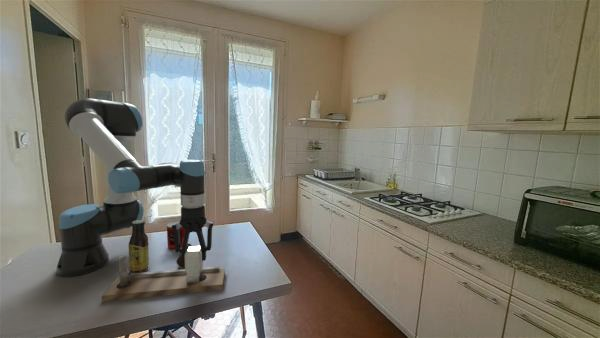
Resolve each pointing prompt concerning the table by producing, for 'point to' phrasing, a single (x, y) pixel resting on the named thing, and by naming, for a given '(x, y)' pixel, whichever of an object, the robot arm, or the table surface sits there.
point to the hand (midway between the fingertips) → (194, 269)
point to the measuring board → (160, 283)
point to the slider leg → (193, 264)
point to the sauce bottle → (138, 248)
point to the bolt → (179, 260)
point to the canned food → (171, 235)
